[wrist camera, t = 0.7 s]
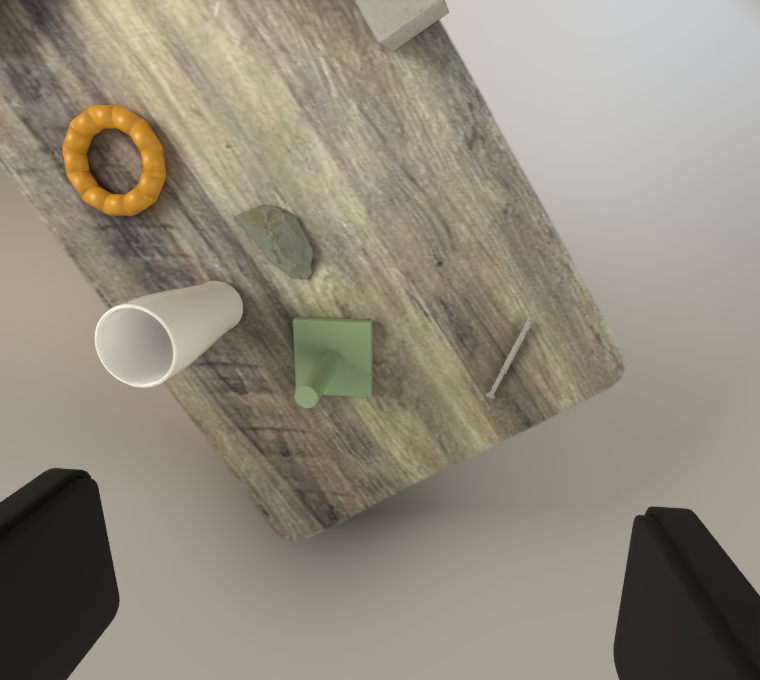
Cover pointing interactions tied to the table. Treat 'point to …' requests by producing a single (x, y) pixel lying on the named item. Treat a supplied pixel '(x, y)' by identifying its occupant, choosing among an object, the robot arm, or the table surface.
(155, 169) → the ring
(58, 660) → the robot arm
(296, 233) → the rock
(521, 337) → the wall anchor
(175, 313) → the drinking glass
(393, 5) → the toppled traffic bollard
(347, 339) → the rack
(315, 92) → the table surface
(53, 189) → the table surface
